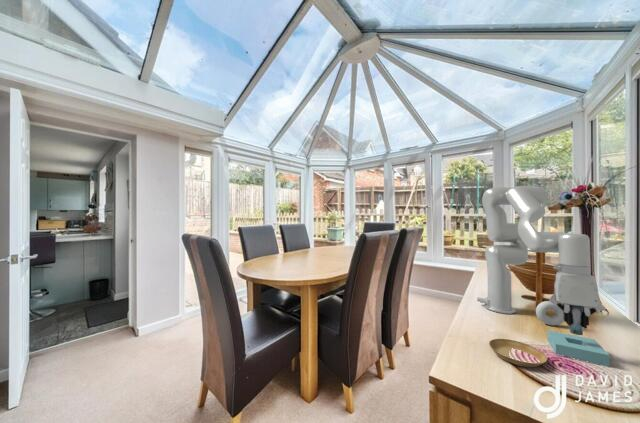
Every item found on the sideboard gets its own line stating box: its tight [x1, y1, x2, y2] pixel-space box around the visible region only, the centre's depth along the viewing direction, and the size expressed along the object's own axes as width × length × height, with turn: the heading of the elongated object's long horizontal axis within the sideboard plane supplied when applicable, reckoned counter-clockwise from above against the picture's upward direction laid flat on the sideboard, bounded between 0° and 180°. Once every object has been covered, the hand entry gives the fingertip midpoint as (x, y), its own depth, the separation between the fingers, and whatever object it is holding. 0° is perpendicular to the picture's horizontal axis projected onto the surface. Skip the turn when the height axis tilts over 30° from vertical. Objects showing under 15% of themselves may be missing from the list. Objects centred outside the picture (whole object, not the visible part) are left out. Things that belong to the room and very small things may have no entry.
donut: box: [535, 300, 565, 326], centre depth 104 cm, size 10×4×10 cm, turn 71°
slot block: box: [546, 330, 611, 368], centre depth 83 cm, size 12×12×4 cm
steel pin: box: [569, 305, 584, 336], centre depth 83 cm, size 3×3×10 cm
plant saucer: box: [488, 338, 548, 368], centre depth 80 cm, size 15×15×3 cm
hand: (576, 325), depth 83 cm, fingers closed on steel pin, 3 cm apart
